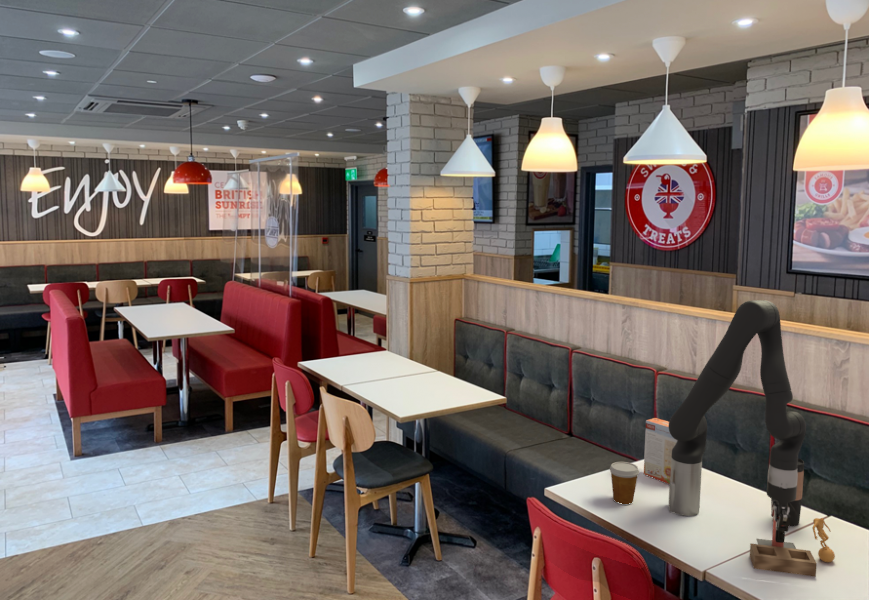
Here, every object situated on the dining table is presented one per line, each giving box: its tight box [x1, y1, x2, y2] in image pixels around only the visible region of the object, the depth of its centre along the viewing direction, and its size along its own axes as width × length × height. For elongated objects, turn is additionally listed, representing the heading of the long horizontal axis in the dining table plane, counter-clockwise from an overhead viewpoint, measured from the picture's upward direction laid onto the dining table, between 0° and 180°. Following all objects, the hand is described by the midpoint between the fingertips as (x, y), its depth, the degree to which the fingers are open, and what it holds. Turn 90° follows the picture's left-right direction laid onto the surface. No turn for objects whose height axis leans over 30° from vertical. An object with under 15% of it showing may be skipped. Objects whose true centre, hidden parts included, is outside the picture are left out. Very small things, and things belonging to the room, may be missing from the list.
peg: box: [771, 517, 784, 547], centre depth 196 cm, size 3×3×10 cm
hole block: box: [749, 543, 818, 578], centre depth 186 cm, size 15×7×4 cm, turn 74°
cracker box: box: [643, 417, 677, 485], centre depth 245 cm, size 14×6×21 cm, turn 34°
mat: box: [756, 538, 797, 549], centre depth 197 cm, size 10×8×1 cm
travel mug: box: [788, 457, 805, 527], centre depth 212 cm, size 8×8×20 cm
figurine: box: [812, 517, 836, 563], centre depth 189 cm, size 8×6×12 cm
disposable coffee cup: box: [609, 461, 640, 505], centre depth 228 cm, size 10×10×12 cm
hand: (778, 538), depth 196 cm, fingers open, 3 cm apart
